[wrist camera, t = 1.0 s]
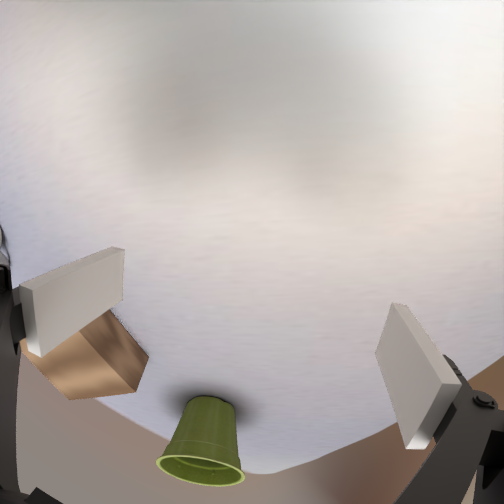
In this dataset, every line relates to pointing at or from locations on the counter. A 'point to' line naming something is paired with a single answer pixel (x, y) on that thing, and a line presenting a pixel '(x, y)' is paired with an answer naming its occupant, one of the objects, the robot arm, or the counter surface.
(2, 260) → the ceramic mug
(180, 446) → the plant pot
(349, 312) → the counter surface
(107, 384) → the wooden box
